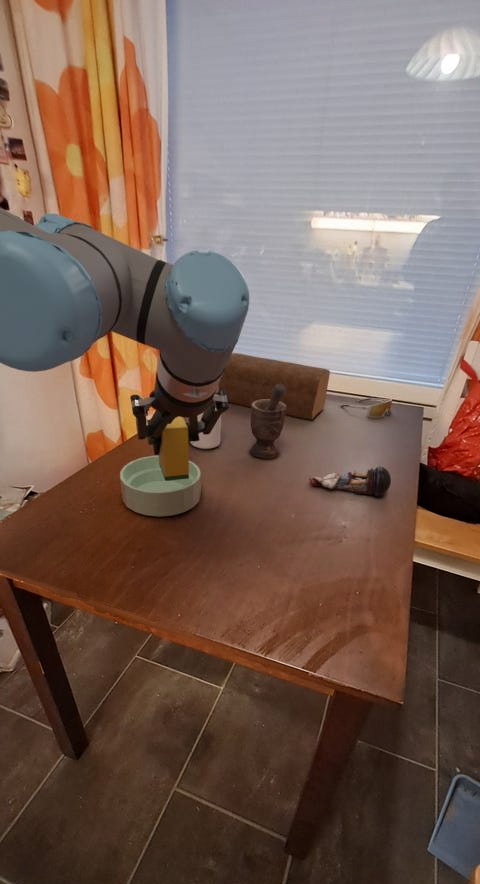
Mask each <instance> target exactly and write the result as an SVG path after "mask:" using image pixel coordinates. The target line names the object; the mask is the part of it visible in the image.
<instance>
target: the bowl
mask: <svg viewBox="0 0 480 884" xmlns="http://www.w3.org/2000/svg"><path fill="white" fill-rule="evenodd" d="M201 476H202V473H201V469H200V467H199V466H198V465H197V464H196V463H194V462H193V461H191V460H189V479H179V480H170V481H165V479H164V476H163V473H162V471H161V468H160V465H159V455H149V456H144V457H139V458H137V459H134V460H132V461H129V462H128V463H127V464H125V465H124V466H123V467H122V468H121V470H120V472H119V479H120V480H119V481H120V488H121V489H120V490H121V497H122V498H121V499H122V502H123V503H124V505H125V506H126V508H128V509H129V510H131V511H133V512H134V513H137V514H140V515H143V516H149V517H150V516H151V517H160V518H161V517H171V516H175V515H179V514H182V513H185V512H187V511H189V510H191V509H193V508H194V507H196V506H197V505H198V503H199V502H200V499H201V497H202V496H201V494H202V493H201V491H202V490H201V489H202V487H201V486H202V485H201V481H202V479H201V478H202V477H201Z"/></svg>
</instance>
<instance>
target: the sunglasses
mask: <svg viewBox="0 0 480 884" xmlns="http://www.w3.org/2000/svg"><path fill="white" fill-rule="evenodd" d="M365 401H380V402H378V403H376V404H372V405H365V406H364V405H352V404H341V405H340V407H341V408H351V409H361V410H362V411H363V410H367V417H368V418H372V419H373V418H374V419H379V418H382V417H383V416H385V415H386V416H388V415H389V412H390V410H391V408H392V404H393V399H392V398H390V399H387V398H375V397H366V398H361V399H358V400H357V403H359V402H360V403H361V402H365ZM381 401H382V402H381Z"/></svg>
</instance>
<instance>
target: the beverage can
mask: <svg viewBox="0 0 480 884" xmlns="http://www.w3.org/2000/svg"><path fill="white" fill-rule="evenodd" d="M203 413H204V412H203ZM203 413H202V414H200V415H198V416H197V417H198V422H199V421H201V417H202V415H203ZM221 428H222V414H221V415H220V417H219V419H218V421H217V422H216V424H215V426H214V428H213V429H212V431H211V433H210V434H208V435H204V434H203V432H202V433H199V439H200V440H199V441H195V442H194V441H191V442H190V443H189V444H191V446H193V447H195V448H197V449H201V450H210V449H211V450H212V449H214V448H217V447H218V446H220V444H221V431H222V429H221Z"/></svg>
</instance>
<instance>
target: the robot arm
mask: <svg viewBox="0 0 480 884" xmlns="http://www.w3.org/2000/svg"><path fill="white" fill-rule="evenodd" d="M249 306H250V290H249V286H248V283H247V281H246V278H245V276H244V274H243V273H242V272H241V270H240V268H238V267H237V265H236V264H235V263H234V262H233V261H232V260H230V259H229V258H228V257H226V256H224V255H223V254H220V253H218V252H215V251H212V250H209V251H208V252H200V251H198V250H192V251H189V252H187V253H184V254H183V255H181V256H179V258H178V259H176V261H175V262H174V263H170V262H168V261H167V262H166V261H164V260H161V259H158V258H155V256H154V257H153V256H152V255H149V254H147V253H145V252H143V251H141V250H139V249H136V248H134V247H132V246H130V245H128V244H127V243H123V242H122V241H120V240H117V239H115V238H113V237H111V236H109V235H107V234H105V233H102V232H100V231H98V230H97V229H94V228H93V227H92V226H91V225H89V224H87V223H85V222H79V221H76V220H72V219H70V218H67V217H65V216H63V215H60V214H57V213H46V214H44V215H42V216H41V217H40V219H39V220H38V223H36V224H34V225H33V224H31V223H30V222H28V221H26V220H24V219H22V218H20V217H18V216H17V215H15V214H13V213H11V212H9V211H8V210H5V209H4V208H2V207H0V364H2V365H3V366H6V367H9V368H12V369H15V370H18V371H22V372H32V373H35V372H36V373H37V372H45V371H49V370H52V369H55V368H57V367H59V366H62V365H65V364H67V363H69V362H73V361H75V360H77V359H79V358H81V357H82V356H84V355H85V353H86V352H88V351H90V349H91V348H92V347H93V345H94V344H95V343H96V342H97V341H99V340H100V339H102V338H104V337H105V336H107V335H108V334H110V333H111V332H112V333H115V334H117V335H120V336H122V337H125V338H127V339H129V340H132V341H135V342H137V343H139V344H141V345H144V346H148V347H150V348H152V349H155V350H158V357H157V363H156V373H155V381H154V389H153V390H152V391H151V392H150V393H149V395H148V396H149V397H141V396H140V395H139V394H132V395H130V397H129V398H130V405H131V410H132V411H131V412H132V415H133V416H134V417H135V427H136V433H137V438H138V440H140V441H142V440H146V439H147V444H148V445H149V446H152V448H153V454H154V455H153V456H159V451H160V447H161V442H162V439H161V433H162V432H163V430H164V429H165V427H166V426H167V425H168V424H171V423H172V422H173V420H174V419H175V418H177V417H183V418H187V419H188V422H185V423H186V425H187V426H188V446H189V445H190V444H191V443H190V442H191V441H194V442H195V441H199V440H200V439H199V433H202V432H203V434H204V435H208V434H210V433H211V431H212V429H213V428H214V426H215V424H216V422H217V421H218V419H219V417H220V415H221V416H222V414H224V413H225V412H226V411H227V410H229V402H227V396H226V392H225V391H219V392H218V391H217V389H218V384H219V382H220V379H221V377H222V375H223V372H224V370H225V368H226V366H227V363H228V361H229V359H230V357H231V354H232V353H234V349H235V347H236V346H237V344H238V342H239V339H240V337H241V333H242V330H243V327H244V324H245V321H246V318H247V316H248V315H247V314H248V312H249V309H250V308H249ZM150 408H152V409H153V410H155V411H154V413H153V414H152V416H151V417H150V419H147V417H148V416H149V411H150ZM203 412H204V413H203ZM202 413H203V415H202V417H201V421H199V422H198V417H197V416H198V415H200V414H202Z"/></svg>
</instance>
